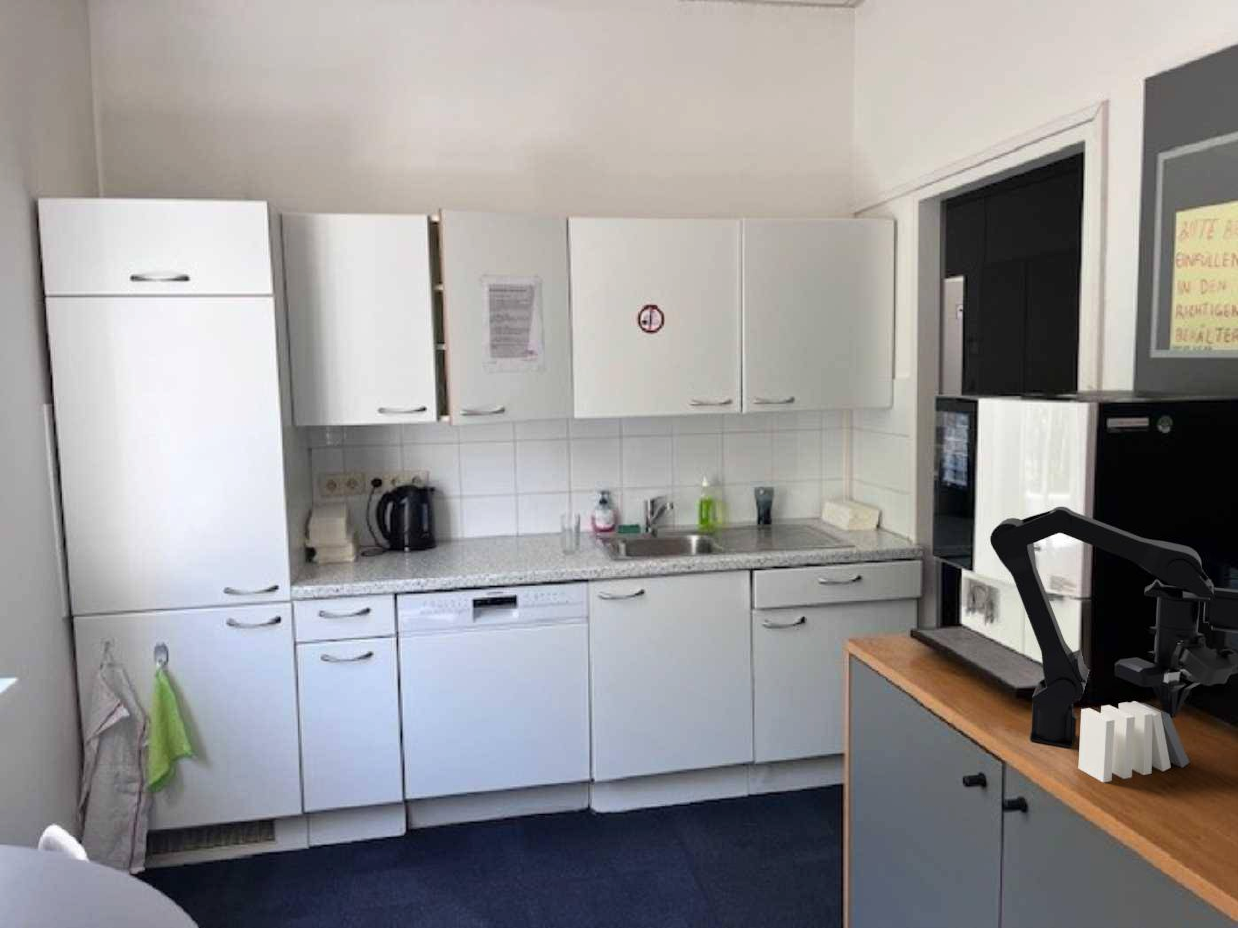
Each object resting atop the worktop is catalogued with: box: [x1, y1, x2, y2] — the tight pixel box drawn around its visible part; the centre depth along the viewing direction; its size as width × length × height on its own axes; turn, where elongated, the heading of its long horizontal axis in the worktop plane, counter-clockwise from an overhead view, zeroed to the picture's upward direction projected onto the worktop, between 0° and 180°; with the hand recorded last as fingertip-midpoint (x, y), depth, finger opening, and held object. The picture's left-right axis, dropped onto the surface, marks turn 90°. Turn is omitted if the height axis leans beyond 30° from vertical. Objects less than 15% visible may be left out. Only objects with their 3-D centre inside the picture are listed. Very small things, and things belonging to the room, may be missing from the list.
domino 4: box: [1129, 700, 1172, 772], centre depth 142 cm, size 2×5×10 cm, turn 16°
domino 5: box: [1140, 702, 1190, 769], centre depth 143 cm, size 2×5×10 cm, turn 15°
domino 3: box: [1118, 701, 1153, 776], centre depth 142 cm, size 2×5×10 cm, turn 16°
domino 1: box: [1077, 707, 1115, 783], centre depth 139 cm, size 2×5×10 cm, turn 16°
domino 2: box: [1100, 704, 1135, 780], centre depth 141 cm, size 2×5×10 cm, turn 16°
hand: (1171, 717), depth 143 cm, fingers closed
